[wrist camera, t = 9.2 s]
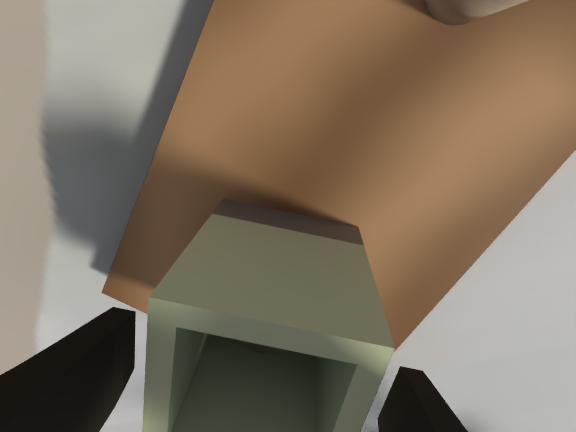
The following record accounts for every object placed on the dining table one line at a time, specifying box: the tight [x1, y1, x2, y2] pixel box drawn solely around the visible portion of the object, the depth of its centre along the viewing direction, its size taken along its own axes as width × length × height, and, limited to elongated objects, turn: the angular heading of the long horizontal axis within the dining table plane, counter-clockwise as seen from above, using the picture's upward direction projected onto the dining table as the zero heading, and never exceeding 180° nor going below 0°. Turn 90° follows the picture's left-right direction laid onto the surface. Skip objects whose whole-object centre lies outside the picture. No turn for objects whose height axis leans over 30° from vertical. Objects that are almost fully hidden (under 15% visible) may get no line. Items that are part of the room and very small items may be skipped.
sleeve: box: [143, 198, 395, 432], centre depth 10 cm, size 5×5×6 cm
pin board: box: [102, 0, 576, 354], centre depth 11 cm, size 12×20×4 cm, turn 152°
